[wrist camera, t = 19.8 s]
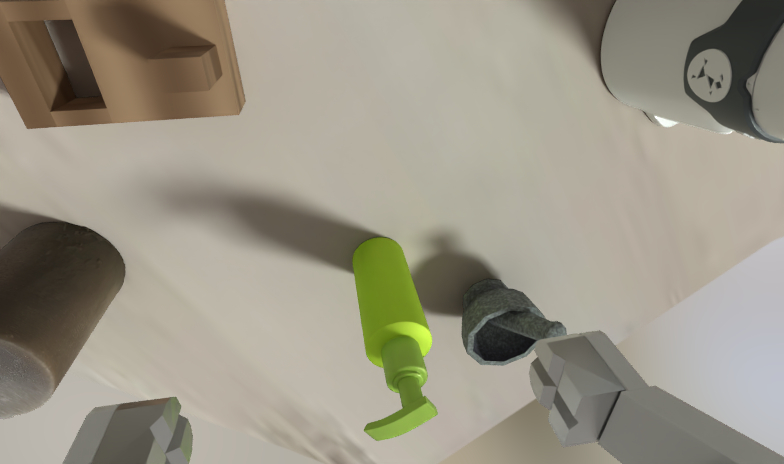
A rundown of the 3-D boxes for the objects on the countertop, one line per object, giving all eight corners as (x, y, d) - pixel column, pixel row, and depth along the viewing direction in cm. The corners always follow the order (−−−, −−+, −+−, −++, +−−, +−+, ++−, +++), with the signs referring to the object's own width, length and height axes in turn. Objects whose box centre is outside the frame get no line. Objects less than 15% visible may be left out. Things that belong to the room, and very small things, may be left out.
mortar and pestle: (488, 333, 56) (527, 410, 46) (435, 313, 52) (464, 393, 42) (542, 274, 52) (598, 345, 42) (488, 248, 48) (536, 319, 38)
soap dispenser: (334, 259, 45) (349, 425, 29) (387, 228, 44) (434, 381, 28) (362, 291, 48) (390, 457, 32) (412, 262, 47) (468, 419, 31)
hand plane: (222, -7, 31) (195, -1, 23) (245, 101, 35) (228, 136, 27) (2, -1, 29) (-106, 9, 21) (55, 113, 33) (-19, 154, 25)
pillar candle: (100, 214, 38) (-7, 331, 26) (142, 293, 43) (71, 422, 31) (-12, 229, 37) (-180, 358, 25) (45, 307, 42) (-69, 447, 30)
